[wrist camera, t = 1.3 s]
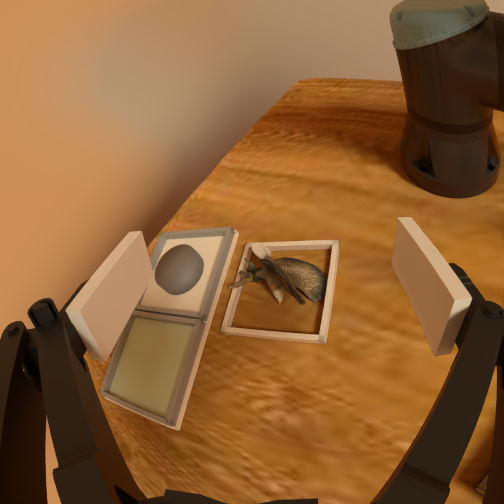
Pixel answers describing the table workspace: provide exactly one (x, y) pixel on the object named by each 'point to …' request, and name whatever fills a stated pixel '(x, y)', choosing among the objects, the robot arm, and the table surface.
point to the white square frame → (286, 336)
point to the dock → (170, 325)
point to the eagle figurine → (284, 276)
